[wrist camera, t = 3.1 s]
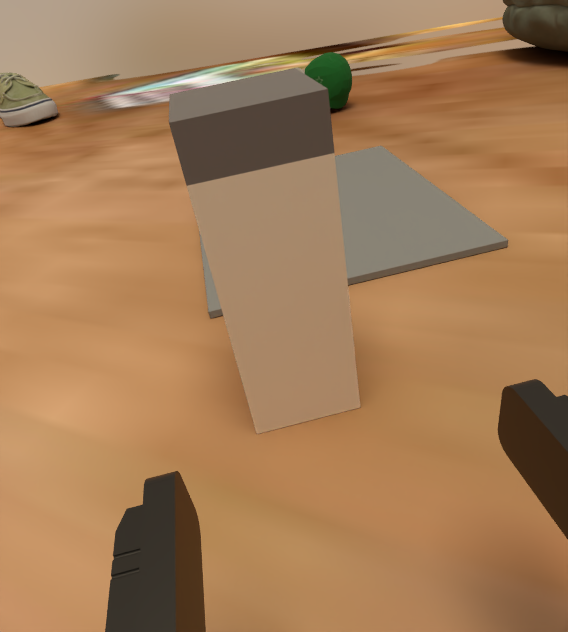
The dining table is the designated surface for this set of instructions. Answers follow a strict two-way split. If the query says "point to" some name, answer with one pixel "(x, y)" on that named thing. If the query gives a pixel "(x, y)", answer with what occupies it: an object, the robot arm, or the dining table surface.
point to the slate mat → (393, 221)
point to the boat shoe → (23, 101)
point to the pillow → (538, 22)
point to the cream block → (273, 239)
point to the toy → (331, 77)
